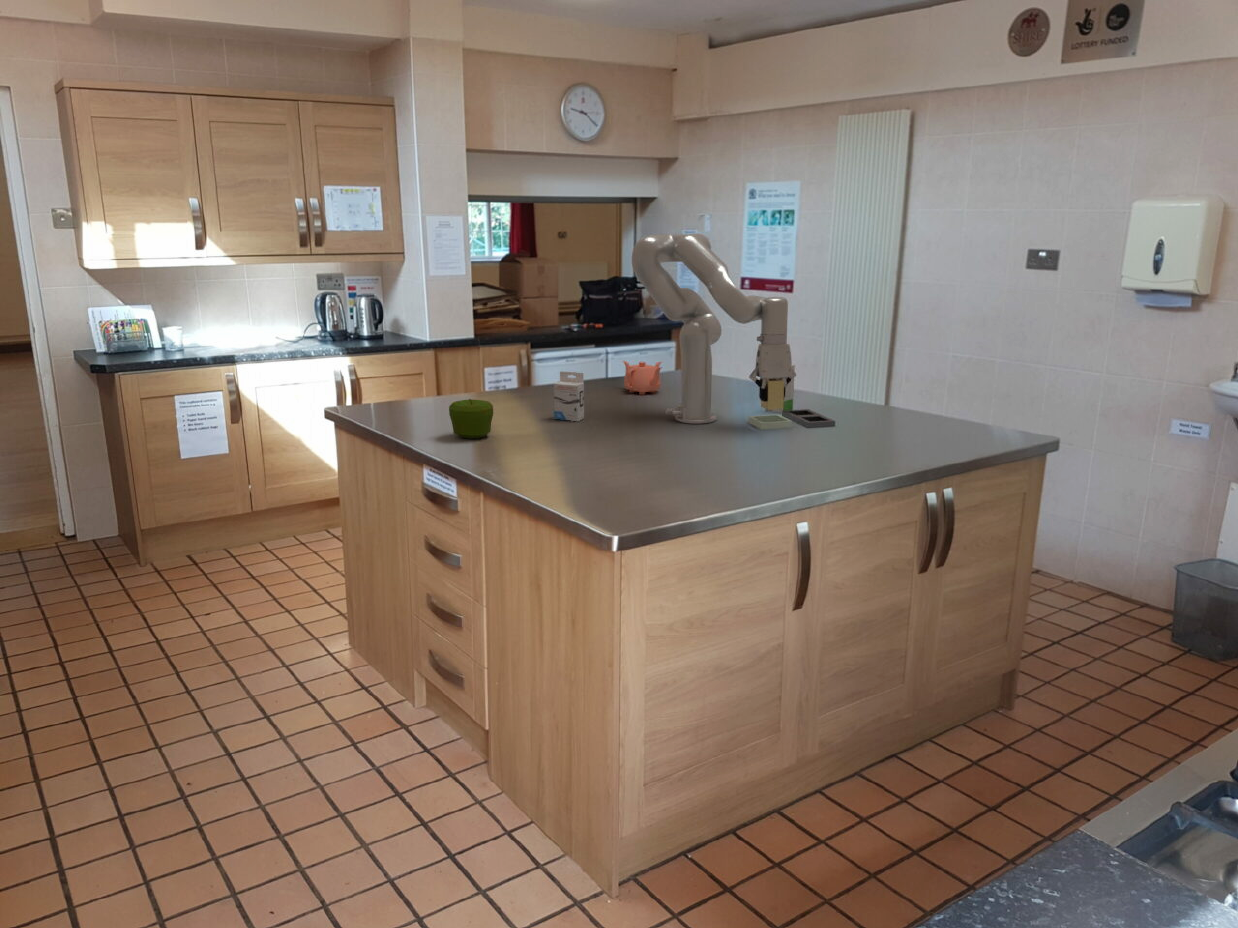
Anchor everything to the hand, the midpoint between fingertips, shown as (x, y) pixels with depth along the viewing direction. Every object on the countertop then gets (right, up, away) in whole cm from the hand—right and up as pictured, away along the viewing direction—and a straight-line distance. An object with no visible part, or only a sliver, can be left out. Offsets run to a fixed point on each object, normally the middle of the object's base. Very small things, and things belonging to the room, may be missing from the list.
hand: (772, 399), depth 278 cm
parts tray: (0, -8, +2) cm, 8 cm away
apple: (-89, -12, -10) cm, 90 cm away
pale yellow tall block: (0, -2, +1) cm, 2 cm away
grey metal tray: (+12, -7, +8) cm, 16 cm away
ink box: (-62, -6, +13) cm, 63 cm away
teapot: (-37, +7, +57) cm, 68 cm away
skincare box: (+6, -3, +23) cm, 24 cm away
